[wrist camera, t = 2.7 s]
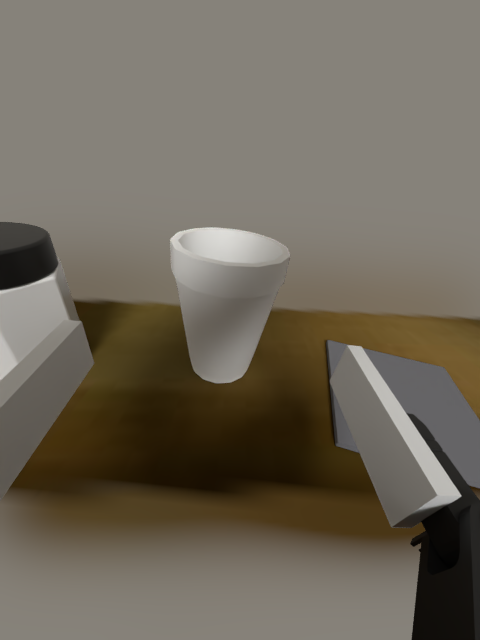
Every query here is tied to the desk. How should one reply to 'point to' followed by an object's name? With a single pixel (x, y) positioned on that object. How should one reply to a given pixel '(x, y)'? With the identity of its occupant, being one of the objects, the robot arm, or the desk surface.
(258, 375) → the desk surface
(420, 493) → the robot arm
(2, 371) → the jar
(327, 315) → the desk surface
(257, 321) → the foam cup
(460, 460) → the charcoal mat
